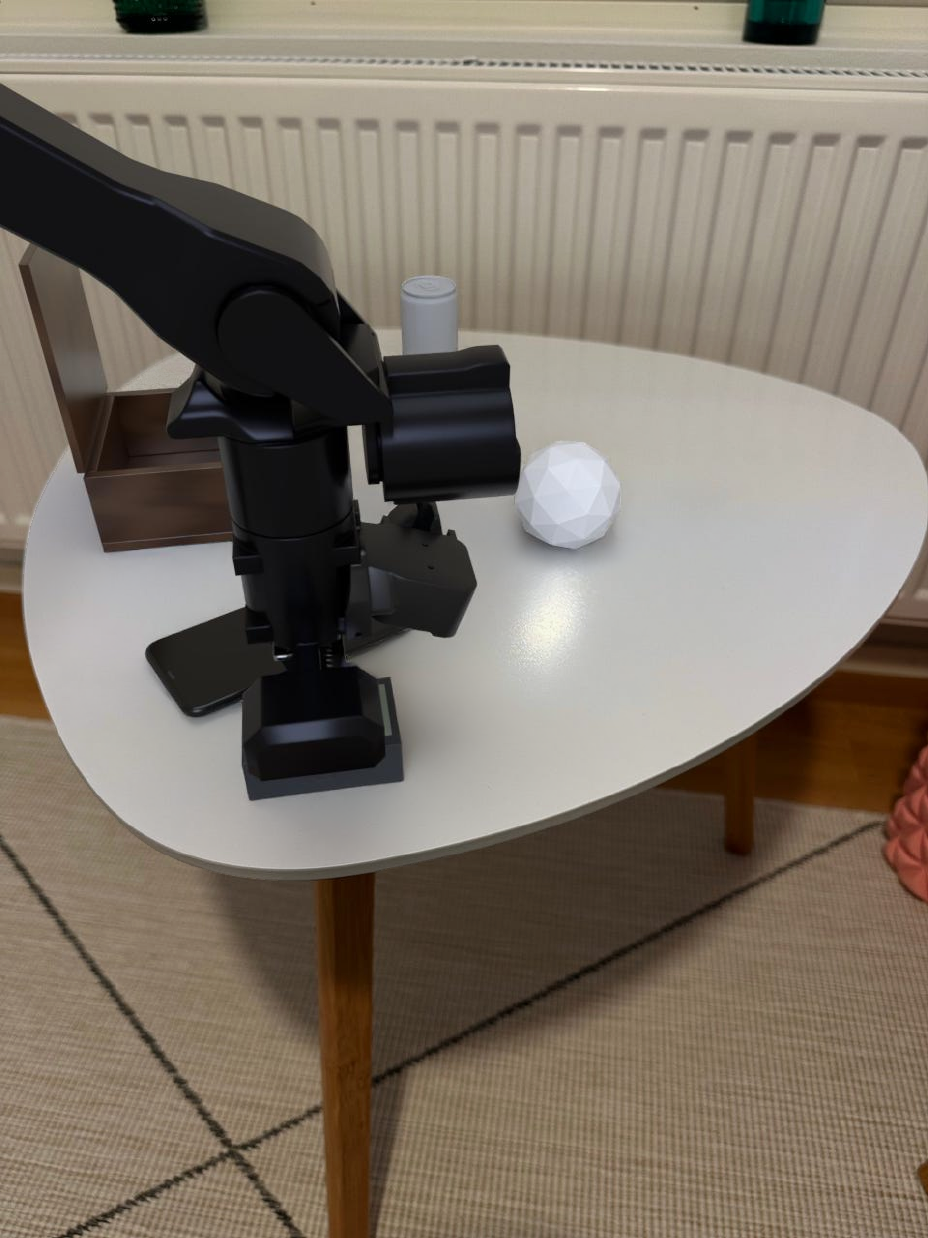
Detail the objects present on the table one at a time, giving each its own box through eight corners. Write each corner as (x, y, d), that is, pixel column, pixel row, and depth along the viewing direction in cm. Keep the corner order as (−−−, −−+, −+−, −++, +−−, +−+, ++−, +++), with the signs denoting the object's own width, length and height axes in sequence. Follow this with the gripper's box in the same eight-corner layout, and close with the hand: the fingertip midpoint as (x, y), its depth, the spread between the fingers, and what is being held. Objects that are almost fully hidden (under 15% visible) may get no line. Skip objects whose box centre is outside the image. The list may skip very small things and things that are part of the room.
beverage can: (439, 399, 91) (437, 270, 83) (468, 419, 88) (469, 287, 80) (395, 413, 89) (388, 281, 81) (423, 434, 86) (419, 299, 78)
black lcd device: (248, 801, 53) (240, 761, 51) (249, 730, 57) (241, 690, 55) (403, 781, 54) (401, 742, 52) (392, 713, 59) (390, 674, 57)
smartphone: (357, 571, 70) (141, 655, 62) (356, 561, 69) (138, 644, 62) (418, 629, 65) (190, 727, 57) (417, 618, 64) (187, 716, 57)
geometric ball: (541, 555, 76) (525, 453, 76) (641, 539, 73) (625, 432, 72) (506, 560, 69) (488, 448, 69) (615, 542, 66) (597, 424, 66)
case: (285, 448, 84) (277, 379, 80) (290, 535, 73) (280, 461, 69) (122, 461, 82) (105, 391, 78) (103, 552, 72) (82, 478, 68)
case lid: (61, 198, 69) (52, 198, 69) (28, 263, 58) (17, 264, 58) (108, 387, 78) (100, 388, 78) (86, 473, 67) (77, 474, 67)
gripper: (501, 609, 39) (493, 854, 49) (434, 402, 54) (439, 623, 63) (219, 639, 38) (269, 885, 48) (228, 417, 52) (265, 641, 62)
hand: (322, 740), depth 55 cm, fingers closed on black lcd device, 5 cm apart
